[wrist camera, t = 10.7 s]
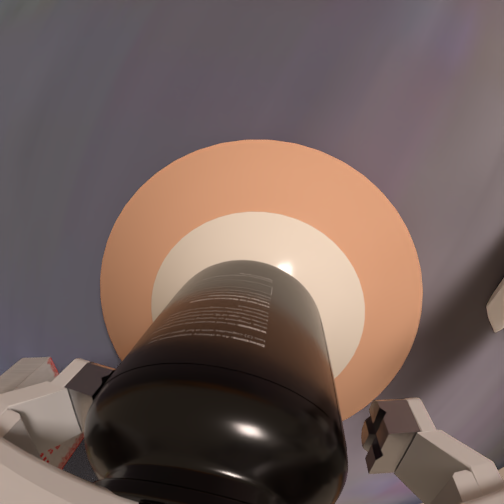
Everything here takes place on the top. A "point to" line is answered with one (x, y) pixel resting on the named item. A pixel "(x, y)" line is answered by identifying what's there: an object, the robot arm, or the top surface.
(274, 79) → the top surface
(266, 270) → the supplement bottle
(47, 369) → the tea bag
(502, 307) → the plastic part
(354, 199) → the peach rimmed plate
